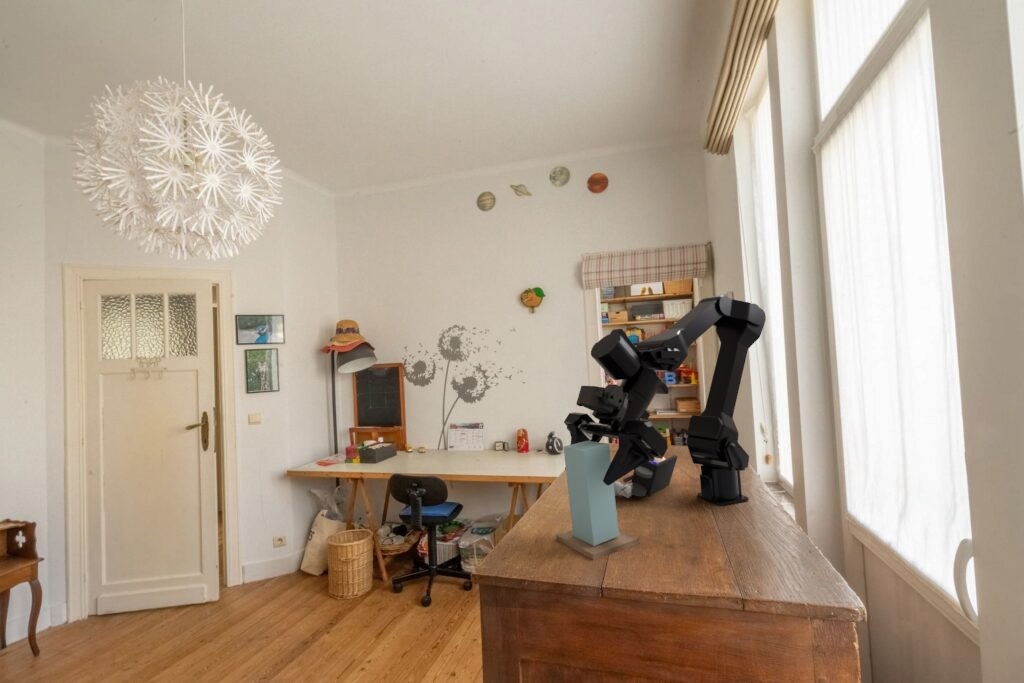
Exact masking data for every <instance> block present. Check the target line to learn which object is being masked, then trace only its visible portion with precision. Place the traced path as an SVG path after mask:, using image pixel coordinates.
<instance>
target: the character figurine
mask: <svg viewBox="0 0 1024 683" xmlns="http://www.w3.org/2000/svg"><path fill="white" fill-rule="evenodd" d="M654 458H655V457H654ZM677 458H678V455H672V456H670V457H669V458H666V456H665V455H664V456H663V458H662V459H660V458H655V460H654V461H653V462H651V461H649V462H647V463H645V464H643V465H641V466H640V467H638V468H636V469H634V470H633V473H632V474H630V475H629V476H627V477H624V478H623V480H622V483H623V482H624V483H625V484H629V483H631V482H632V490H631V494H633V495H632V496H636V497H645V496H647V497H649V498H650V497H651V496H653V495H654V494H656V493H658V492H660V491H661V490H663V489H665V488H666V487H668V486H670V483H671V479H672V476H673V473H674V470H675V466H676V463H677V461H678V460H677Z"/></svg>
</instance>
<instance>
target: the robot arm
mask: <svg viewBox="0 0 1024 683" xmlns="http://www.w3.org/2000/svg"><path fill="white" fill-rule="evenodd" d="M766 317H767V316H766V312H765V311H764V309H762V307H760V306H759V304H756V303H752V302H749V301H743V300H737V299H732V298H730V297H729V296H726V295H714V296H708V297H704V298H702V299H700V300H698V303H697V304H696V305H695V306H693V308H692V309H690V311H687V313H686V314H684V315H683V316H682V317H681V318H679V320H678V321H676V322H674V324H672V326H670V327H669V328H668V329H666V330H664V331H662V332H659V333H656V334H653V335H650V336H649V337H646V338H645V339H642V340H641V341H639V342H638V343H637V344H636V345H635V344H634V343H633V342H632V340H631V339H630V338H629V337H628V335H627V333H626V332H625V331H624V329H623V328H617V329H616V328H615V329H612V330H611V331H610V333H609V334H606V335H605V336H603V337H602V338H601V339H600V340H599V341H597V342H595V343H594V344H593V346H592V348H591V350H590V357H592V358H593V359H594V360H595V362H596V363H597V364H598V365H599V366H600V367H601V368H602V369H603V370H604V372H605V373H606V374H607V376H609V377H610V378H611V379H612V380H614V381H620V380H621V381H622V382H621V383H620V384H619V385H618V384H607V385H606V387H602V386H595V385H581V387H580V390H579V392H578V395H577V396H578V397H577V400H576V406H578V407H583V408H586V409H588V410H590V411H592V413H591V416H593V417H594V418H595V419H597V420H598V422H596V421H595V420H594V419H593V418H592V417H591V416H590V415H589V414H588V413H583V412H576V411H575V412H569V413H568V415H567V416H566V418H565V420H564V421H563V423H564V424H565V426H566V429H567V431H568V432H569V433H570V434H569V435H570V438H571V439H570V444H569V445H572V444H576V443H580V442H584V441H593V442H599V443H601V441H602V438H603V437H606V438H610V439H615V440H618V448H617V450H616V452H615V454H614V457H613V458H612V460H611V464H610V466H609V468H608V470H607V472H606V474H605V477H604V479H603V482H604V483H605V484H606V485H608V486H609V485H611V484H612V483H614V482H615V481H617V482H618V481H619V479H621V478H623V477H625V476H626V475H627V474H629V473H631V472H632V471H634V469H636V468H638V467H640V466H641V465H643V464H645V463H647V462H649V461H651V462H653V461H654V460H655V458H660V459H662V458H663V456H664V457H665V454H666V452H667V451H668V446H669V445H668V440H667V438H666V437H665V436H664V435H663V434H662V433H661V432H660V431H659V429H658V428H657V427H656V426H655V425H654V424H653V423H652V422H651V421H648V419H649V418H650V415H651V414H650V413H649V412H648V411H647V410H648V408H649V406H650V405H651V403H652V401H653V399H654V398H655V397H656V395H657V394H658V395H668V394H669V392H670V391H669V387H668V385H667V382H666V381H667V380H666V378H665V377H662V378H661V377H660V375H658V372H661V373H662V372H663V373H664V372H668V373H669V372H670V373H671V372H675V371H677V370H679V368H680V367H681V365H682V364H683V363H684V362H685V360H686V358H688V356H689V354H688V353H689V348H690V347H691V346H692V344H694V343H695V342H696V341H697V340H698V339H699V338H700V337H702V335H703V334H705V333H706V332H707V331H708V330H709V329H710V328H711V327H714V328H715V333H716V335H717V337H718V339H719V342H720V345H719V350H718V353H717V357H716V362H715V366H714V370H713V375H712V379H711V383H710V387H709V391H708V394H707V399H706V402H705V403H706V404H705V407H704V410H703V411H702V412H701V413H700V414H699V415H696V414H693V415H691V417H690V418H689V424H688V425H689V426H688V429H687V431H686V433H685V435H686V446H687V448H688V451H689V455H690V458H691V460H692V463H693V464H694V465H700V474H699V480H700V483H699V484H700V492H697V497H700V498H701V499H705V500H708V501H710V502H712V503H714V504H717V505H719V506H725V505H729V504H731V505H732V504H735V503H740V502H746V501H749V497H748V496H746V495H743V493H742V481H741V471H742V472H743V471H745V470H746V469H748V468H749V460H750V456H749V454H748V453H747V451H745V449H744V448H743V447H742V446H741V445H740V443H739V442H738V440H739V430H738V428H737V425H736V423H735V421H734V418H733V417H734V413H735V409H736V408H735V407H736V403H737V399H738V394H739V390H740V386H741V382H742V376H743V372H744V369H745V364H746V359H747V355H748V352H749V351H748V350H749V349H750V348H751V346H753V345H754V344H755V343H756V342H757V340H758V339H759V338H760V337H761V335H762V332H763V329H764V326H765V324H766V320H767V318H766ZM654 457H655V458H654ZM564 470H565V471H566V466H565V468H564Z"/></svg>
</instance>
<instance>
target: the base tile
mask: <svg viewBox="0 0 1024 683" xmlns="http://www.w3.org/2000/svg"><path fill="white" fill-rule="evenodd" d="M555 539H556V541H558V542H560V543H562V544H564V545H565V546H567V547H569V548H571V549H572V550H575V551H577V552H578V553H580V554H582V555H584V556H585V557H588V559H589V558H590V559H592V560H593V561H595V560H598V559H600V558H603V557H606V556H608V555H610V554H614V553H617V552H619V551H621V550H624V549H628V548H631V547H633V546H635V545H638V544H640V538H639V537H636V536H634V535H633V534H630V533H628V532H625V531H623V530H621V529H619V536H618V537H615V538H613V539H610V540H608V541H605V542H603V543H601V544H598V545H596V546H593V545H591V544H589V543H587V542H585V541H583V540H581V539H579V538H577V537H575V536H573V530H572V529H571V530H567V531H565V532H562V533H561V532H560V533H558V534H556V535H555Z"/></svg>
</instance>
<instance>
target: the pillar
mask: <svg viewBox="0 0 1024 683" xmlns="http://www.w3.org/2000/svg"><path fill="white" fill-rule="evenodd" d="M610 449H611V448H610V444H609V443H602V442H593V441H584V442H580V443H576V444H572V445H570V444H568V445H564V446H563V456H564V465H565V467H566V470H565V474H566V482H567V491H568V500H569V501H568V503H569V510H570V519H571V527H572V528H571V530H573V536H575V537H577V538H579V539H581V540H583V541H585V542H587V543H589V544H591V545H593V546H596V545H598V544H601V543H603V542H605V541H608V540H610V539H613V538H615V537H618V536H619V530H620V529H619V522H618V520H619V519H618V513H617V506H616V505H617V504H616V503H617V502H616V496H615V494H614V485H613V483H612V484H611V485H609V486H608V485H606V484H605V483H604V482H603V479H604V477H605V474H606V472H607V470H608V468H609V466H610V464H611V462H612V460H611V451H610Z"/></svg>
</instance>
